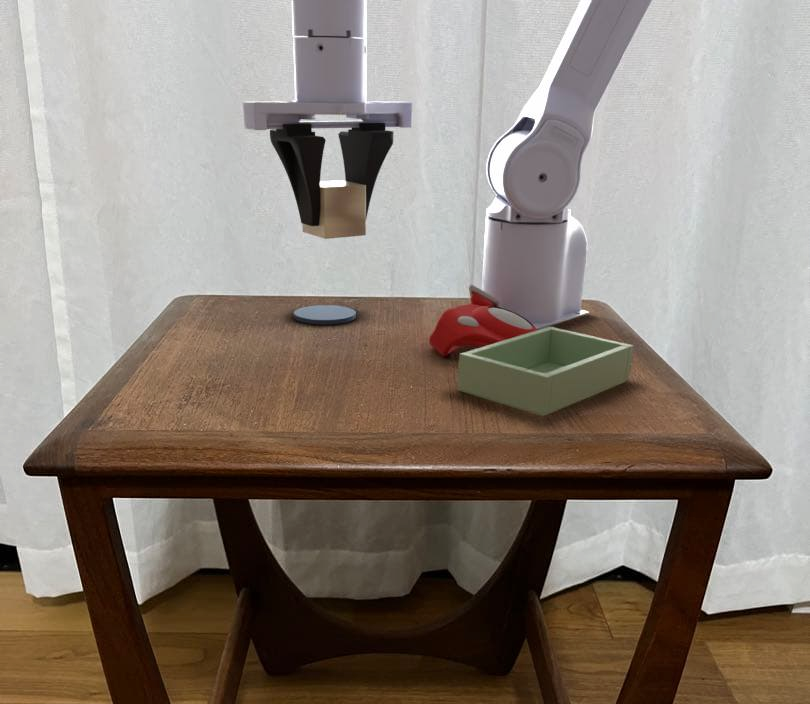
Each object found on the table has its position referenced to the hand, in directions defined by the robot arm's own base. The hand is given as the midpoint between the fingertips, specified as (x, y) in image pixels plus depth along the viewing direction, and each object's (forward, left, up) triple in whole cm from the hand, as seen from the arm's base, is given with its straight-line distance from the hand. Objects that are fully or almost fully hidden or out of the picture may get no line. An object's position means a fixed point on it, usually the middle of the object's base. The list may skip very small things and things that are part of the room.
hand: (333, 222), depth 74 cm
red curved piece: (-3, +15, -8) cm, 18 cm away
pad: (0, -2, -8) cm, 8 cm away
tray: (+3, +25, -8) cm, 26 cm away
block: (0, 0, -1) cm, 1 cm away
